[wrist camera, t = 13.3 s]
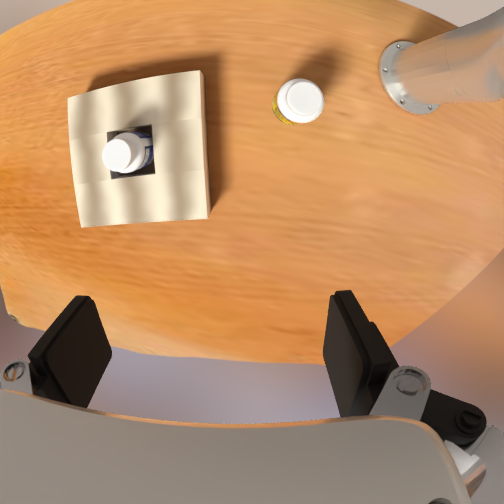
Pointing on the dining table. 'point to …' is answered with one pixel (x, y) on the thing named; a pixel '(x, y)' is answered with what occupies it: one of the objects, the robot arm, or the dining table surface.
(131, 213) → the socket block
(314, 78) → the dining table surface
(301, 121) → the supplement bottle
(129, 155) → the pill bottle
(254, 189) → the dining table surface
